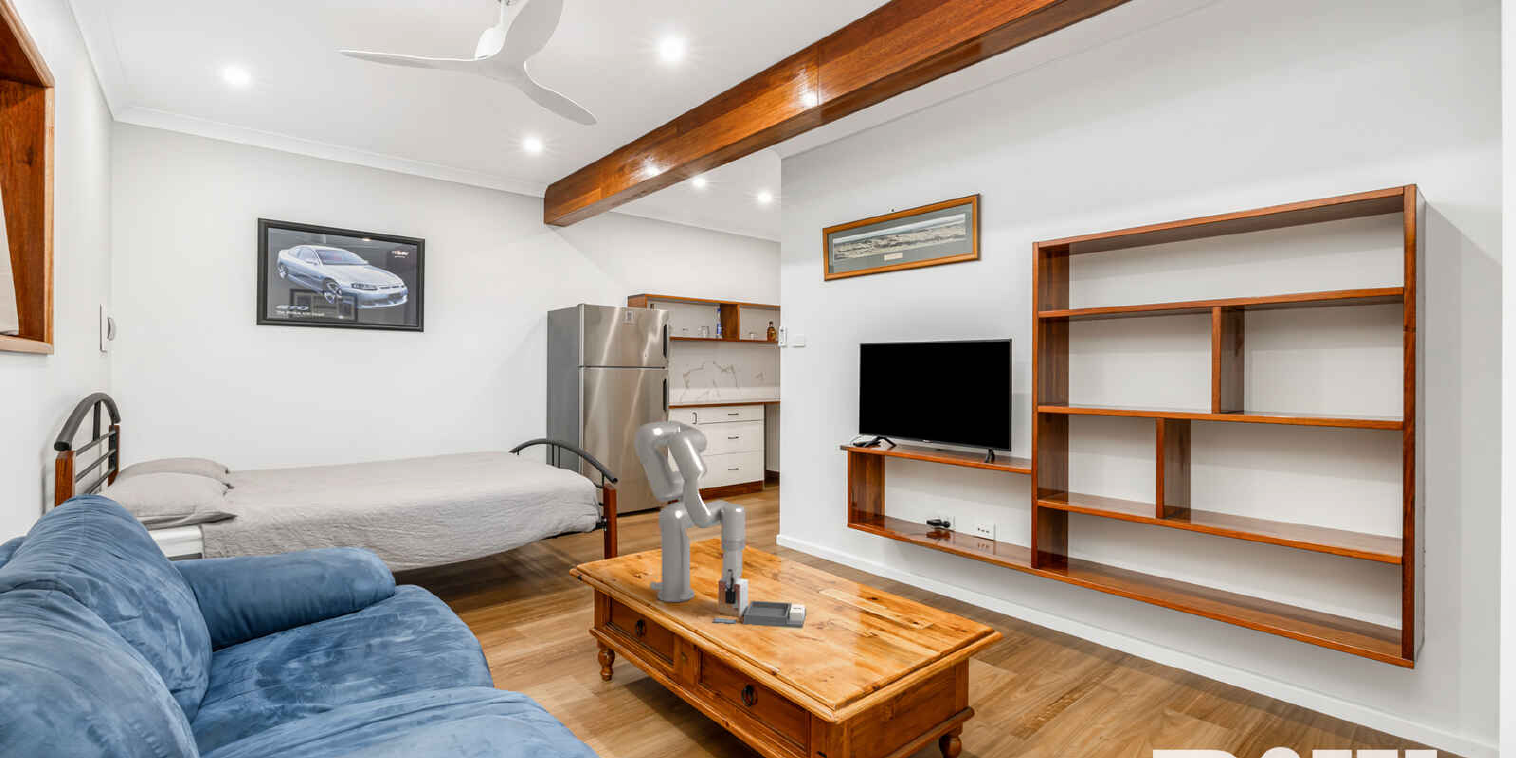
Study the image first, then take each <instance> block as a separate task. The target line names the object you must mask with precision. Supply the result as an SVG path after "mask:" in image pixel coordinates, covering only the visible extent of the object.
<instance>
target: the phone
mask: <svg viewBox="0 0 1516 758" xmlns="http://www.w3.org/2000/svg"><path fill="white" fill-rule="evenodd" d="M736 621H737V622H738V619H734V618H732V619H731V618H722V617H715V618H714V619H712V623H711V624H719V623H724V624H723V625H732V624H734V625H736V623H737V622H736ZM734 625H733V626H734Z"/></svg>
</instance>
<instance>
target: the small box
mask: <svg viewBox="0 0 1516 758" xmlns="http://www.w3.org/2000/svg"><path fill="white" fill-rule="evenodd" d="M740 578H741V577H740ZM740 578H739V580H738V581H737V582H736V583H735V591H736V603H735V604H726V603H725V588H726V581H725V582H722V578H721V579H719V580H718V597H717V599H718V600H717V603H718V605H717V607H718V608H717V612H718V613H719V614H724V615H728V616H732V615H733V617H736V616H738V617H737V618H740V617H742V616H744V614H745V612H746V610H747V608H748V606H749V579H748V578H745V579H744V578H741V579H740ZM731 581H734V580H731ZM731 585H732V587H733V584H731Z"/></svg>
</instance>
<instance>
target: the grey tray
mask: <svg viewBox="0 0 1516 758" xmlns="http://www.w3.org/2000/svg"><path fill="white" fill-rule="evenodd" d="M806 615H807V608H806V604H796V603H795V604H794V603H792V602H780V601H763V600H750V603H748V608H747V610H746V612H745V614H743V616H744V617H743V620H742V621H743V622H742V623H743V625H747V624H752V626H762V625H763V626H764V627H777V628H780V627H781V628H791V629H793V628H794V629H795V628H796V629H803V628H804V625H805V624H804V623H805V619H806Z"/></svg>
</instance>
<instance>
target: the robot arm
mask: <svg viewBox="0 0 1516 758" xmlns="http://www.w3.org/2000/svg"><path fill="white" fill-rule="evenodd" d="M633 443H634V449H635V452H636V455H637V457H638V458H639V461H640V463H641V464H642V465H641V466H643V468H644V471H645V474H646V477H647V479H648V483H649V485H650V488H651V491H652V493H653V495H654V498H655V499H656V500H657V501H658V502H662V503H663V502H669V501H675V500H677V502H673V503H670V504H667V505H666V506H664V507H663V508H662V509H660V512H659V513H658V524H659V529H660V530H659V531H660V536H661V581H659V582H656V581H651V582H650V584H649V587H650V589H651V590H652V591H656V590H657V591H658V592H657V593H656V597H657V598H658V599H659V600H660V601H662V602H667V603H682V602H686V601H690V600H692V599H694V597H695V595H696V594H695V590H694V589H692V588H691V543H690V539H689V537H688V535H687V532H686V530H688V529H689V530H690V529H691V528H695V527H697V528H700V529H707V528H710V527H711V528H712V527H714V526H717V525H720V527H721V529H720V530H721V531H720V532H721V534H720V535H721V536H720V537H721V542H720V544H721V548H720V549H721V550H722V551H723V554H722V568H721V579H722V582H725V581H726V588H725V603H726V604H735V603H736V591H735V583H736V582H737V581H738V580H739V578H740V579H742V578H741V576H742V573H743V551H745V549H746V508H745V507H744V505H742V504H737V503H731V502H728V501H726V500H722V499H718V500H714V501H709V502H705V503H704V501H703V499H702V497H701V494H700V491H699V486H700V485H699V484H700V481H701V480H702V478H703V477H705V475H707V472H708V467H707V465H706V463H705V461H704V459H703V457H702V455H701V454H702V453H703V452H704V451H705V450H706V449H707V445H708V440H707V437H706V436H705V434H704V433H703V432H702V431H701V430H699V429H697V428H695V427H693V426H691V425H688V424H685V423H683V422H680V421H677V420H666V421H654V422H649V423H644V424H643V425H641V426H640V427H639V428H638V429H637V430H636V432H635V435H634V441H633ZM664 446H665V447H666V446H668V451H670V454H671V456H672V458H673V460H674V462H675V464H676V467H677V468H678V470H675V471H673V470H672V467H671V465H670V463H669V460H668V458H667V457H666V455H665V454H664V453H663V452H662V451H661V450H660V449H659V447H664ZM731 580H734V581H731ZM731 584H733V587H732V585H731Z"/></svg>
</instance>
